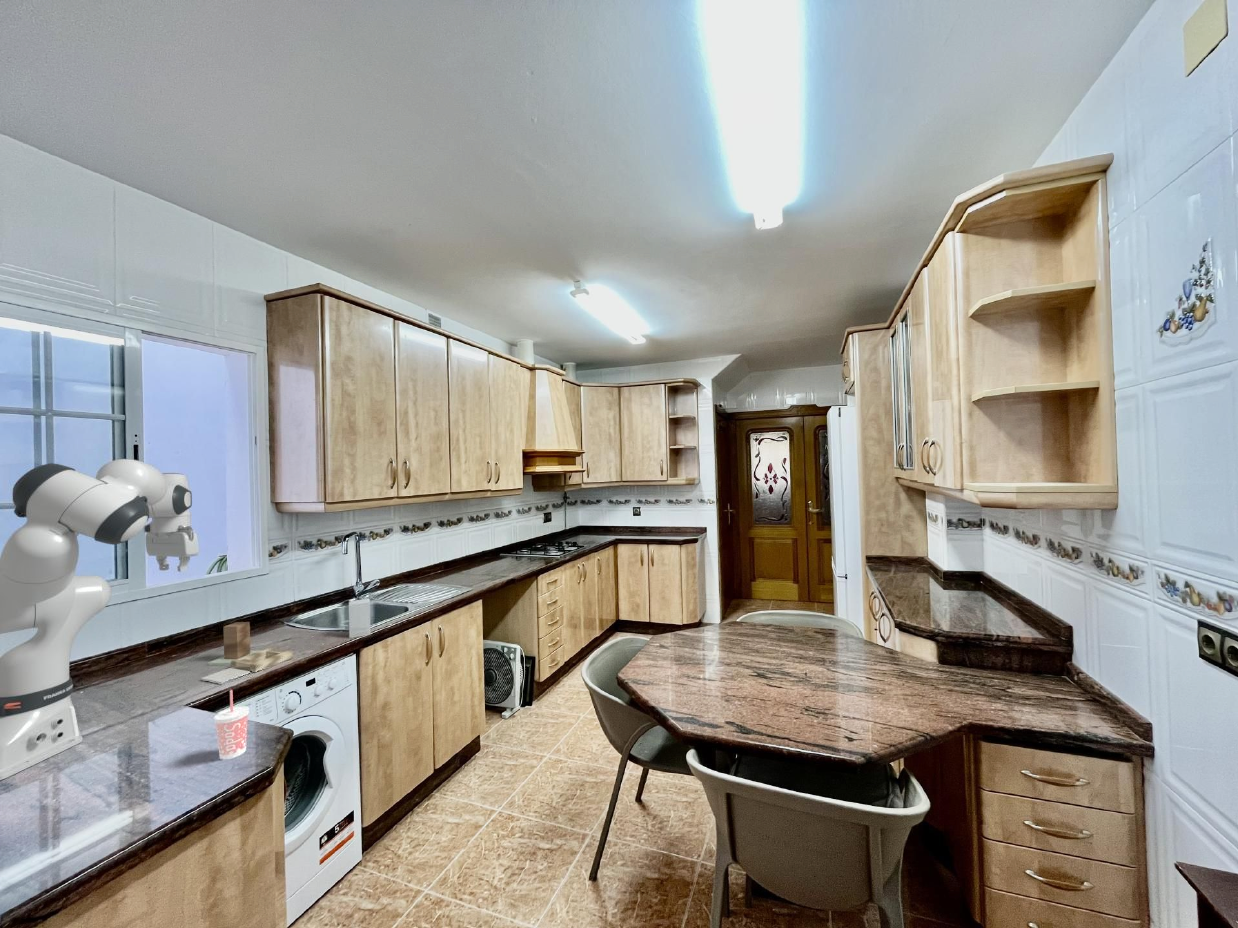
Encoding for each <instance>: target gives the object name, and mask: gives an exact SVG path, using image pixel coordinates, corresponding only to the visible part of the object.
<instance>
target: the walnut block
mask: <svg viewBox="0 0 1238 928" xmlns="http://www.w3.org/2000/svg"><path fill="white" fill-rule="evenodd" d="M250 624H251V623H250V621H241V622H240V621H237V622H233V623H230V624H228V625H225V626H223V656H224V659H239V658H242V657H244V656H246V655H249V654H250V651H251V633H250V632H251V626H250Z"/></svg>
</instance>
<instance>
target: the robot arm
mask: <svg viewBox="0 0 1238 928" xmlns="http://www.w3.org/2000/svg"><path fill="white" fill-rule="evenodd" d="M192 496H193V494H192V491H191V490H190V485H189V482H188V477H187V476H186V474H183V473H178V472H177V473H176V472H161V471H160V470H159V469H157V468H156V467H154V466H153V465H151V464H149V463H146V462H144V461H141V460H137V459H131V458H121V459H120V458H119V459H115V460H111V461H109V462H107V463H105V464H104V465H102V466H101V467H100V468H99V469H98V471H97V472H96V474H95V478H94V477H92V476H90V475H88V474H85V473H81V472H80V471H76V469H75V468H72V467H70V466H67V465H63V464H59V463H52V462H49V463H45V464H41V465H39V466H36V467H33V468H31V469H30V470H29V471H26V473H24V474H23V475H22V476H21V477H20V478H19V479H18V480H17V481H16V483H15V484H14V485H13V488H12V503H13V505H14V509H13V513H14V514H15V516H16V517H18V518H26V522H25V524H23V525H22V526H21V527H19V528H18V529H16V530H14V532H13V533H12V534H11V535H10V537H8V539H7V541H6V543H5V545H4V547H3V549H2V550H1V554H0V635H2V634H7V633H12V632H19V631H23V630H29V629H37V631H36V632H35V634H34V635H33V636H32V637H31V638H30V639H28V640H26V641H25V642H22V643H20V644H19V645H17V646H14V647H13V648H11V649H9V650H8V651H6V652H5V653H4V654H2V655H1V656H0V781H2V780H4V779H7V778H9V777H11V776H13V775H15V774H18V773H20V772H22V771H24V770H26V769H28V768H30V767H32V766H35V765H36V764H38V763H41V762H43V761H44V760H47V759H49V758H51V757H53V756H56V755H57V754H60V753H62V752H64V751H66V750H68V749H70V748H72V747H74V746H77V745H78V744H81V743H83V741H84V740H83V738H84V737H83V736H82V732H81V730H80V727H79V725H78V721H77V714H76V709H75V707H74V704H73V701H72V698H71V695H72V693H74V690H73V688H74V684H73V678H72V677H71V676H70V661H71V660H70V659H71V651H72V646H73V644H74V640H75V638H76V636H77V635H78V634H79V632H80V631H81V629H83V627H84V626H85V625H86V624H87V623H88V622H89V621H90V620H91V619H92V618H94V617H95V616H96V615H98V614H100V612H102V611H103V610H104V609H105V608H106V607H107V605H108V604H109V602H110V601H111V600H110V599H111V597H112V589H111V586H110V584H109V583H108V581H107V580H106V579H105V578H103V577H101V576H100V575H97V574H95V575H93V574H92V575H91V574H90V575H87V574H86V575H84V574H82V575H79V574H78V575H76V574H75V573H76V570H77V569H76V568H77V564H78V562H79V561H78V560H79V557H80V556H79V555H80V548H79V547H80V545H79V540H78V536H79V534H80V535H82V536H85V537H89V538H90V539H94V541H95V542H98V543H103V544H107V545H113V546H115V545H120V544H123V543H126V542H127V541H129V540H130V539H132V538H133V537H136V535H138V534H139V533H141V531H142V530H143V533H146V534H145V548H146V553H147V555H148V556H149V557H150V556H151V557H156V558H155V560H156V561H157V564H158V565H159V566H158V569H159V571H167V570H169V569H170V564H169V563H168V557H170V558H171V557H173V558H174V557H175V558H178V561H179V565H178V566H177V572H181V573H182V572H183V573H184V572H187V571H188V564H189V562H190V560H191V557H195V556H198V554H199V552H200V548H199V539H198V534H197V533H196V531H195V530H194V528H192V517H191V516H192V515H191V511H190V508H192V504H193V500H192V499H193V497H192ZM149 519H151V521H150V522H149V523H148V521H149Z"/></svg>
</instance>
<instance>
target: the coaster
mask: <svg viewBox="0 0 1238 928" xmlns="http://www.w3.org/2000/svg"><path fill="white" fill-rule="evenodd" d="M259 651H260V650H250V654H253V653H256V652H259ZM250 654H249V655H250ZM246 656H248V655H246ZM244 657H245V656H244ZM233 660H236V659H224V655H223V656H221V657H218V658H216V659H214V660H211V661H209V662H207V665H208V666H231V661H233Z"/></svg>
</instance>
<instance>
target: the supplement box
mask: <svg viewBox="0 0 1238 928" xmlns="http://www.w3.org/2000/svg"><path fill="white" fill-rule="evenodd" d="M348 635H349V636H348V638H349V639H352V638H358V637H363V636H364V637H365V636H370V635H371V600H370V598H364V599H363V598H362V599H357V600H356V599H355V600H350V601H348Z"/></svg>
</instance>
